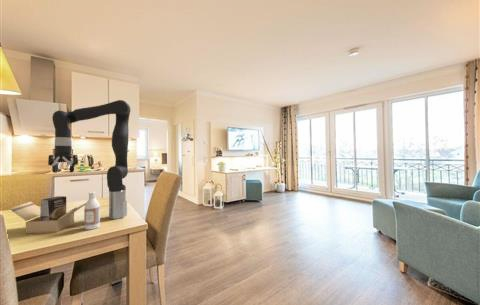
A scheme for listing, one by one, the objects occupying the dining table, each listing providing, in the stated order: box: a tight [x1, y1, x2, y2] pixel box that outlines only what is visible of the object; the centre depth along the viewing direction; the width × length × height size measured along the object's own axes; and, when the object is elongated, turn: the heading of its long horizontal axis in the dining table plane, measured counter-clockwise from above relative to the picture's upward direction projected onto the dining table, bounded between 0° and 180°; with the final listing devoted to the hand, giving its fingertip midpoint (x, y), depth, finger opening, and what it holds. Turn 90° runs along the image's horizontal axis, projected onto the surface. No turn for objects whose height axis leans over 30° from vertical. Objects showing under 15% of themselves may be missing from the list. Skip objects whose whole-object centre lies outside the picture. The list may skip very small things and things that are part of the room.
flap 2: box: [59, 202, 86, 219], centre depth 112 cm, size 1×12×10 cm
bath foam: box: [83, 191, 101, 231], centre depth 111 cm, size 7×7×20 cm
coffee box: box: [39, 195, 67, 221], centre depth 111 cm, size 9×6×16 cm
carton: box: [25, 212, 75, 235], centre depth 111 cm, size 14×14×6 cm
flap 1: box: [9, 201, 40, 222], centre depth 109 cm, size 1×12×10 cm
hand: (63, 172), depth 118 cm, fingers open, 8 cm apart
